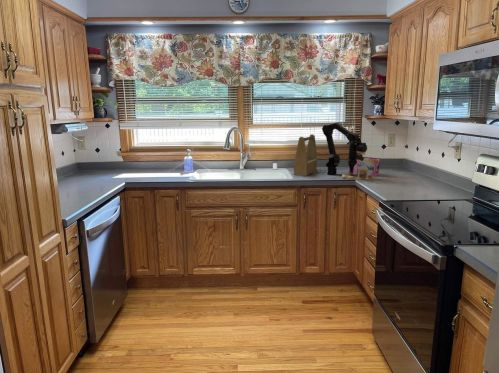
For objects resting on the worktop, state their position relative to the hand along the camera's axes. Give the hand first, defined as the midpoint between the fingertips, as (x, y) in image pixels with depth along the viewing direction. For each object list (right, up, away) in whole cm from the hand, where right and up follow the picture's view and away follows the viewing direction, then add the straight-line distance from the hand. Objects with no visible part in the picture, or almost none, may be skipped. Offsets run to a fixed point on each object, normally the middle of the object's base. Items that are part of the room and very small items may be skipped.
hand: (351, 171), depth 283 cm
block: (+8, -3, -1) cm, 8 cm away
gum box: (+14, -2, +18) cm, 23 cm away
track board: (+4, -5, 0) cm, 7 cm away
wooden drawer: (+5, -3, 0) cm, 6 cm away
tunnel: (+8, -4, -1) cm, 9 cm away
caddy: (-31, 0, +21) cm, 38 cm away
